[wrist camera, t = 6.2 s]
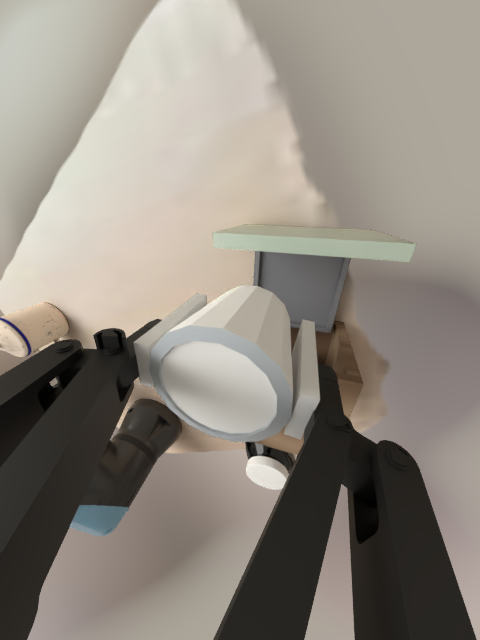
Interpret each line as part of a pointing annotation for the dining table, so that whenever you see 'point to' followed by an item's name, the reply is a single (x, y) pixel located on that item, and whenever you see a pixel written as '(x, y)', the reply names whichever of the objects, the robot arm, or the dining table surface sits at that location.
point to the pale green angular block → (309, 263)
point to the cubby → (341, 358)
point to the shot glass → (229, 366)
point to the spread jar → (268, 465)
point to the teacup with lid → (31, 329)
